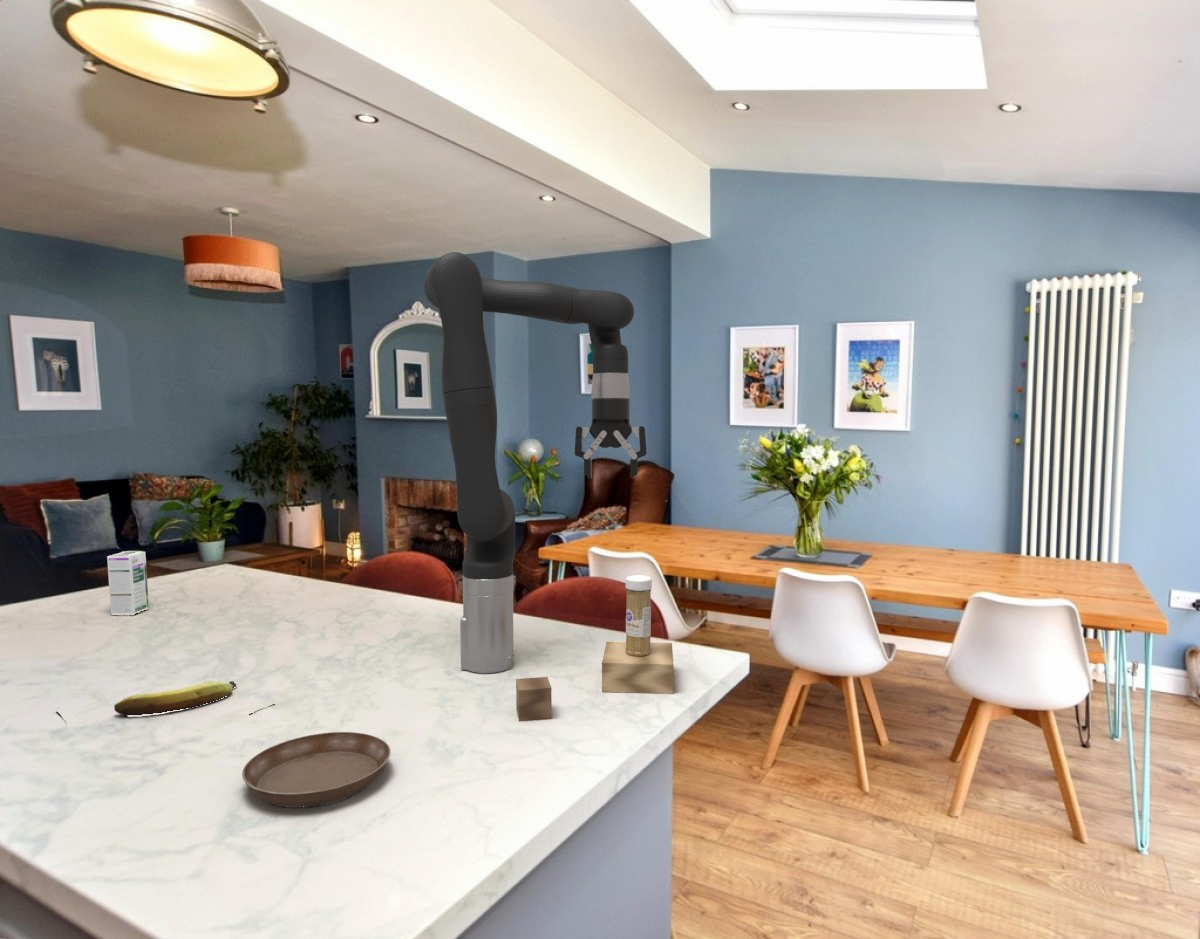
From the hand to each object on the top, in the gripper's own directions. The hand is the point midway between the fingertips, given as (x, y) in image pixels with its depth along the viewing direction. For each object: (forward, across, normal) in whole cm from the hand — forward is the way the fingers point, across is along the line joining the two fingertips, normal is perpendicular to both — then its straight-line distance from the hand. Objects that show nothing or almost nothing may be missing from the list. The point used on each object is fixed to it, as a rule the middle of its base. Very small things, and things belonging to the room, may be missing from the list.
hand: (610, 478), depth 150 cm
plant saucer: (+35, +34, +59) cm, 76 cm away
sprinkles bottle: (+29, -6, +20) cm, 36 cm away
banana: (+35, +68, +36) cm, 84 cm away
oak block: (+34, -6, +20) cm, 40 cm away
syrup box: (+34, +116, -18) cm, 122 cm away
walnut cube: (+34, +10, +36) cm, 51 cm away
